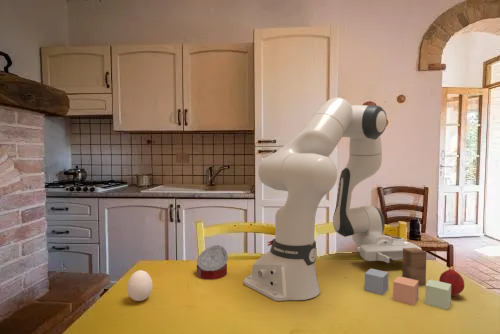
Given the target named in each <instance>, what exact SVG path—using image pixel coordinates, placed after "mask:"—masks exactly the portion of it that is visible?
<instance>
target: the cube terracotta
mask: <svg viewBox="0 0 500 334" xmlns="http://www.w3.org/2000/svg"><path fill="white" fill-rule="evenodd" d="M392 284H393V286H392V287H393V289H392V290H393V291H392V292H393V294H392V295H393V296H392V299H393V301H396V302H400V303H403V304H407V305H410V306H416V303H417V302H418V300H419V287H420V286H419V281H418V280H414V279H409V278H405V277H402V276H396V278H395V279H394V280H393V282H392Z"/></svg>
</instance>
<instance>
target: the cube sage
mask: <svg viewBox="0 0 500 334" xmlns="http://www.w3.org/2000/svg"><path fill="white" fill-rule="evenodd" d="M424 294H425V296H424V298H425V300H424V304H425V305H429V306H431V307H436V308H439V309H442V310H443V309H444V310H446V311H449V307H450V306H451V303H452V296H451V284H449V283H444V282H440V281H439V280H435V279H432V278H431V279H429V280H428V281H426V286H425V293H424Z"/></svg>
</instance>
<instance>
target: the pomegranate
mask: <svg viewBox="0 0 500 334" xmlns="http://www.w3.org/2000/svg"><path fill="white" fill-rule="evenodd" d="M438 281H440V282H444V283H449V284H451V297H454V296H457V295H459V294H461V293H462V292H463V291H464V289H465V280H464V278H463V277H462V275H461V274H460V273H459V272H457V270H455V267H453V266H450V267H449V269H447V270H445V271H444V272H442V273H441V274H440V275H439V279H438Z"/></svg>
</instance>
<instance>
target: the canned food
mask: <svg viewBox="0 0 500 334" xmlns="http://www.w3.org/2000/svg"><path fill="white" fill-rule="evenodd" d="M228 258H229V255H228V252H227V250H226V249H225V247H224V246H221V245H218V244H217V245H212V246H210V247H207V248H205V249H204V250H203V251H201V252H200V253H199V255H198V257H197V260H196V277H197V278H199V279H201V280H209V281H210V280H211V281H213V280H214V281H215V280H219V279H222V278H224V277H226V276H227V274H228V264H227V262H228Z"/></svg>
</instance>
